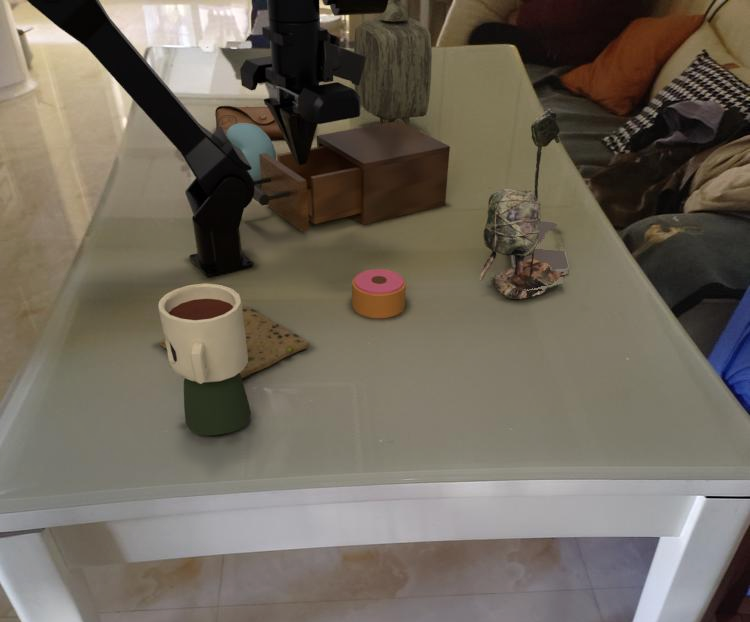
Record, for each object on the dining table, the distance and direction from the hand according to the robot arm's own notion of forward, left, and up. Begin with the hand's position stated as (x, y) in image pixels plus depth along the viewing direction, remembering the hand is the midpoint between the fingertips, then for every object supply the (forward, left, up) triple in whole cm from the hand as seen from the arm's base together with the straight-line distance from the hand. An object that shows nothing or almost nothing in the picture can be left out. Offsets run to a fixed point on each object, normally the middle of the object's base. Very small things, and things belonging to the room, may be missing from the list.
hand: (301, 163), depth 94 cm
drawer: (+11, -6, -11) cm, 16 cm away
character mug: (-29, +25, -12) cm, 40 cm away
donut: (-17, -1, -12) cm, 21 cm away
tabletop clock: (+37, -37, -12) cm, 53 cm away
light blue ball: (+28, -3, -12) cm, 30 cm away
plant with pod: (-22, -19, -12) cm, 31 cm away
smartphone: (-15, -28, -12) cm, 34 cm away
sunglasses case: (+48, -17, -12) cm, 52 cm away
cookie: (-17, +18, -12) cm, 28 cm away
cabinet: (+11, -19, -12) cm, 25 cm away
